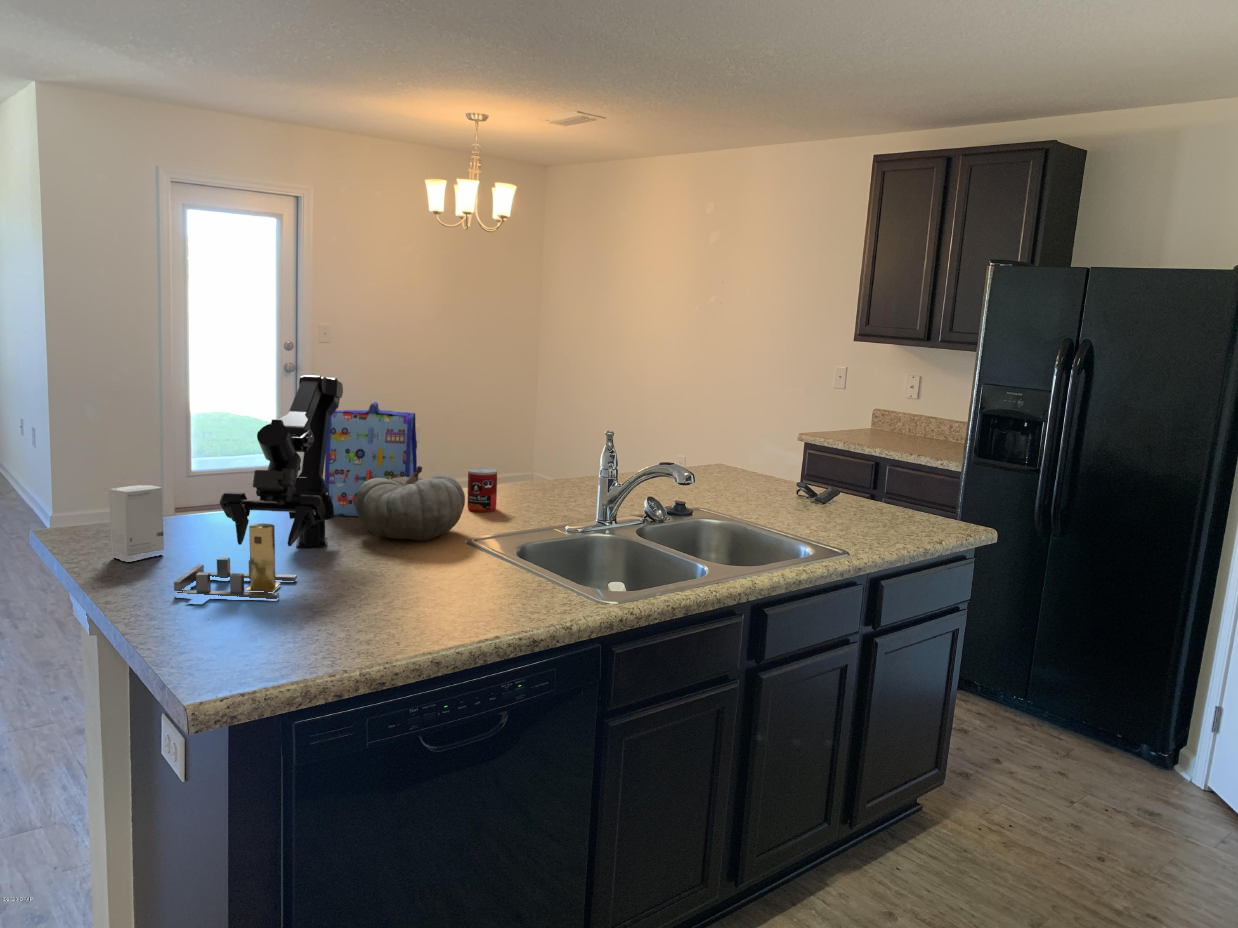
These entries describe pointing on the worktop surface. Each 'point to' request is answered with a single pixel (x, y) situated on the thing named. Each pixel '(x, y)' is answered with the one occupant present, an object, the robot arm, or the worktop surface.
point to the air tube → (262, 558)
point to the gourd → (410, 506)
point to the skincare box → (136, 519)
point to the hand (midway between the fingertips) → (264, 544)
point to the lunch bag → (367, 451)
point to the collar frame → (223, 572)
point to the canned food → (482, 489)
